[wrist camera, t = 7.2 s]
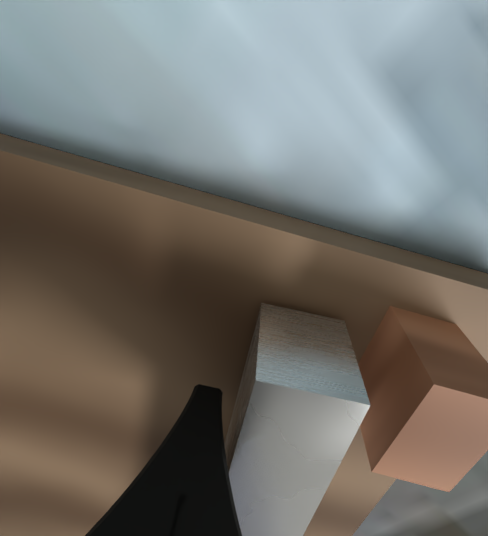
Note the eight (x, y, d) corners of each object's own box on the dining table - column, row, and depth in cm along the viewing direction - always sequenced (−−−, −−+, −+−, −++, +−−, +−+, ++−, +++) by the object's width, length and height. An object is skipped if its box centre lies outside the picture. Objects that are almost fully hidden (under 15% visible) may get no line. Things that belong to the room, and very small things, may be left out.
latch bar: (251, 571, 16) (243, 714, 12) (185, 557, 16) (157, 696, 12) (358, 323, 10) (410, 465, 6) (247, 299, 10) (228, 426, 6)
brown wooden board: (287, 582, 20) (290, 705, 16) (-54, 498, 19) (-143, 603, 15) (500, 277, 11) (639, 385, 6) (-147, 90, 10) (-446, 81, 6)
